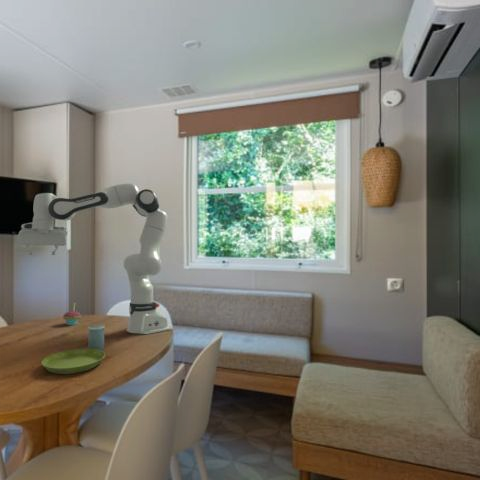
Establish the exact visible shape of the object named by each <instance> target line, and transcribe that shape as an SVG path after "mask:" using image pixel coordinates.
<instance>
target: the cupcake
mask: <svg viewBox="0 0 480 480" xmlns="http://www.w3.org/2000/svg"><path fill="white" fill-rule="evenodd" d="M75 307H76V302H74V303H73V307H72V309H73V310H69V311H67V312H65V313H64V314H63V316H62V319H63V320H64V321H65V323H66V326H76V325H77V324H78V322H79V319H80V318H81V317H82V316H81V313H80V312H79V311H77V310H75Z"/></svg>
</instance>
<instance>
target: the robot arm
mask: <svg viewBox="0 0 480 480" xmlns="http://www.w3.org/2000/svg"><path fill="white" fill-rule="evenodd" d="M126 205H132V207H133V208H134V210H135V211H136V212H137V213H138V215H140V216H141V217H146V221H145V223H144V225H143V228H142V231H141V234H140V237H139V243H140V252H139V253H132V254H129V255H128V256H126V257H125V258H124V259H123V260H124V261H123V268H124V270H125V271H126V273H127V277H128V282H129V286H130V302H129V306H128V310H129V313H128V314H129V320H128V325H127V328H126V332H128V333H130V334H141V335H150V334H154V333H159V332H165V331H169V330H172V329H173V325H172V324H171V323H169V322H168V321H169V320H168V317H167V316H166V314H164V313H163V312H162V311H160V310H159V309H158V308H159V307H160V304H159V302H155V301H154V286H153V284H152V282H151V280H150V277H152V276H153V277H154V276H156V275H158V274H159V273H161V271H162V269H163V261H162V260H161V257H160V256H161V255H160V254H161V253H160V252H161V246H162V242H163V238H164V236H165V232H166V230H167V226H168V225H167V224H168V217H169V216H168V214H167V213H166V212H165V211H164V210H161V209H160V204H159V200H158V197H157V195H156V193H155V192H154V191H153V190H151V189H149V188H148V189H142V190H140V191H139V187H138V186H137V185H136V184H135V183H132V182H128V183H120V184H116V185H115V184H114V185H111V186H108V187H106V188H105V187H104V189H101V190H99V191H97V192H94V193H91V194H86V195H83V196H78V197H75V198H74V197H73V198H64V197H59V196H56V195H55V194H54V193H52V192H40V193H37V194H36V195H35V197H34V200H33V207H32V209H33V217H32V222H28V223H23V224H21V226H20V228H21V229H20V231H19V232H18V236H17V241H16V243H17V244H18V245H20V246H22V245H24V246H26V247H25V248H26V250H27V251H28V255H29V256H30V255H31V256H33V251H34V250H31V249H30V247H31V246H54V250H53V251H51V255H52V256H55V255H56V251H57V250H58V248H59V246H62V247H63V246H64V247H65V246H66V245H67V235H68V229H67V228H65V227H63V226H59V227H58V226H55V219H56V220H59V221H65V222H66V221H67V222H68V221H70V220H72V219H74V218H75V217H76V214H77V213H78V212H82V211H85V210H88V209H91V208H103V209H114V208H120V207H123V206H126Z"/></svg>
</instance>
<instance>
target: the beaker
mask: <svg viewBox="0 0 480 480" xmlns="http://www.w3.org/2000/svg"><path fill="white" fill-rule="evenodd" d="M105 328H106V324H103V323H95V324H91V325H89V326H87V329H88V342H87V343H88V344H87V345H88V347H87V349H97V350H101V351H103V352H104V350H105Z"/></svg>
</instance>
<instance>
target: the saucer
mask: <svg viewBox="0 0 480 480" xmlns="http://www.w3.org/2000/svg"><path fill="white" fill-rule="evenodd" d="M105 357H106V353H105V351H104V350H103V351H101V350H97V349H88V348H76V349H68V350H64V351H59V352H56V353H52V354H50V355H48V356H46V357H45V358H43V359H42V360H41V365H42V366H43V368H45V370H46V371H48V372H49V373H52V374H55V375H57V374H58V375H72V374H79V373H83V372H87V371H89V370H92V369H93V368H96V366H98V365H99V364H100V363H101V362H102V361H103V360H104V358H105Z"/></svg>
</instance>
